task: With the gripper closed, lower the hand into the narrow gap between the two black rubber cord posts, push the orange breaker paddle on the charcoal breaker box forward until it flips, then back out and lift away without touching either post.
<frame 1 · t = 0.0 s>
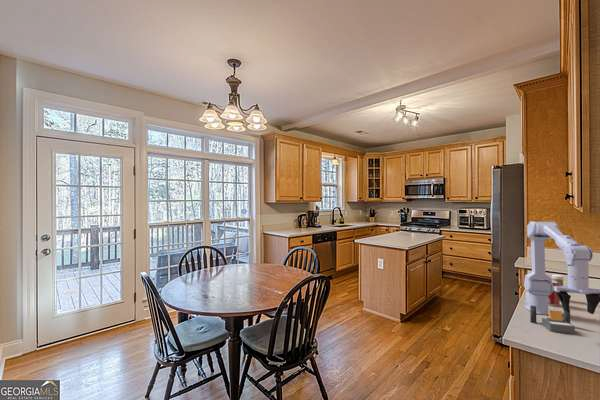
hand: (578, 312, 106), 10 cm above the worktop, tool pointing down, fingers open, 7 cm apart
sprinkles bottle: (558, 300, 150), on the worktop
breaker paddle: (555, 315, 115), point 5 cm above the worktop, hinge at -20.0°
breaker box: (557, 329, 114), on the worktop
cord post 2: (567, 325, 117), on the worktop
cord post 1: (533, 322, 120), on the worktop
beverage can: (551, 304, 143), on the worktop
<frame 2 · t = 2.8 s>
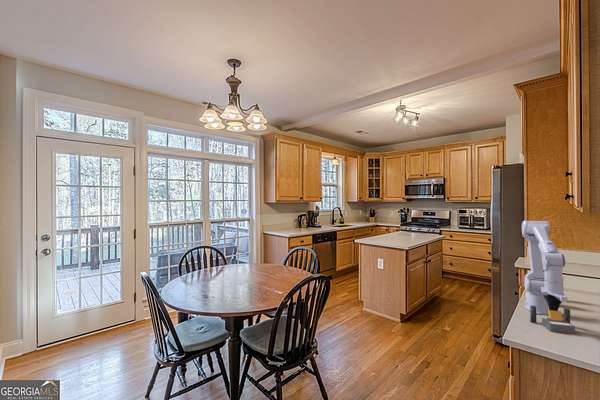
hand: (553, 313, 116), 6 cm above the worktop, tool pointing down, fingers closed, pressing on breaker paddle
breaker paddle: (555, 315, 115), point 5 cm above the worktop, hinge at -19.2°, touching gripper
everything else where it was.
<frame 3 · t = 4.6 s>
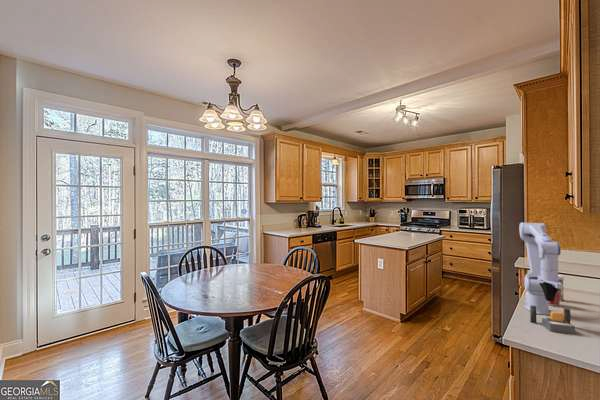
hand: (549, 300, 119), 10 cm above the worktop, tool pointing down, fingers closed
breaker paddle: (557, 316, 114), point 5 cm above the worktop, hinge at 15.0°
everything else where it was.
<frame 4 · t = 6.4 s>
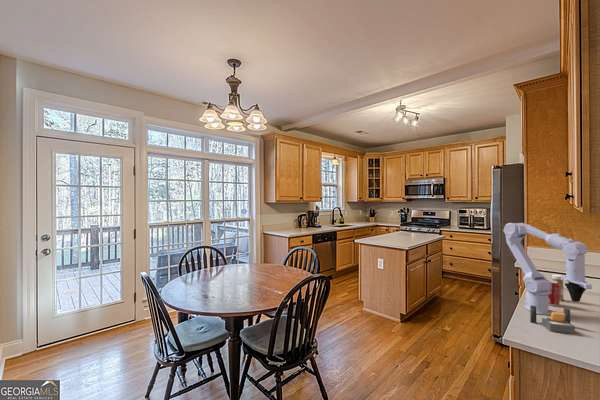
hand: (575, 301, 119), 10 cm above the worktop, tool pointing down, fingers closed
breaker paddle: (557, 316, 114), point 5 cm above the worktop, hinge at 22.7°
everything else where it was.
at the end: breaker paddle at +23° (first picture: -20°); cord post 2 moved 0.0 cm from its start; cord post 1 moved 0.0 cm from its start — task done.
